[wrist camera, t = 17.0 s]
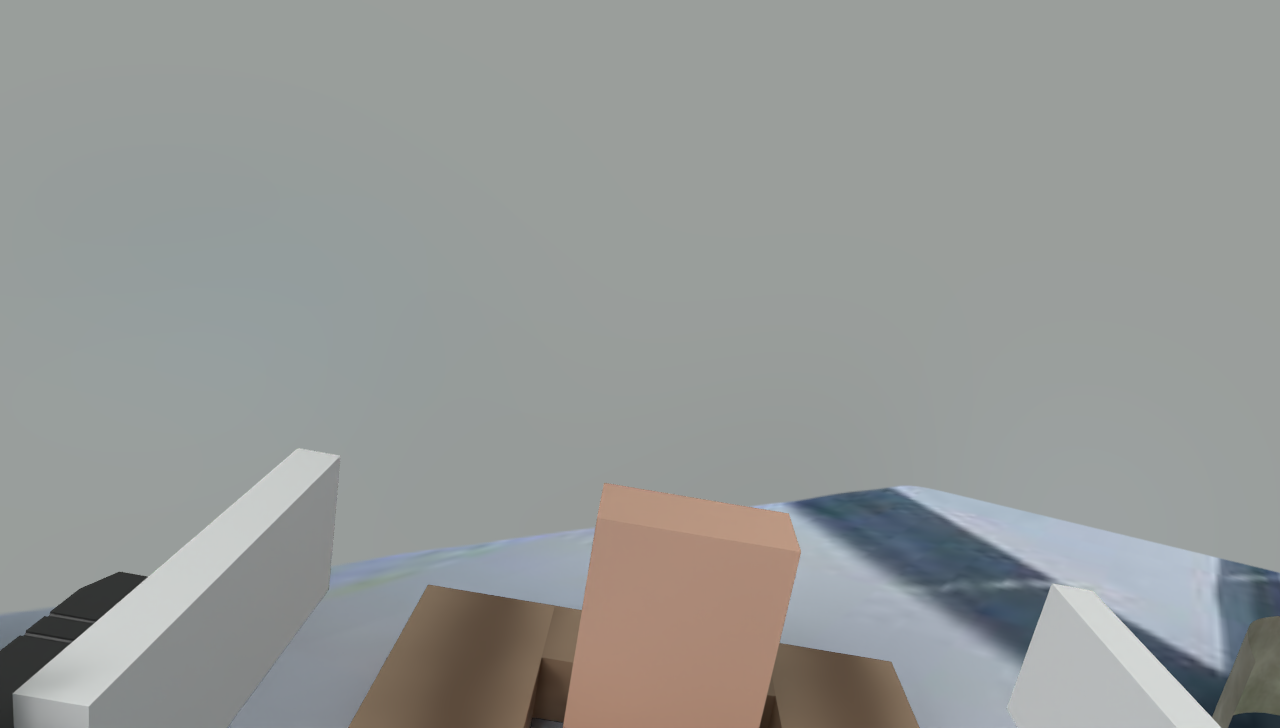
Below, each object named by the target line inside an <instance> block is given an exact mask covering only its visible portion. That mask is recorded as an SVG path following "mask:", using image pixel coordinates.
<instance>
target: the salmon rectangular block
mask: <svg viewBox="0 0 1280 728" xmlns="http://www.w3.org/2000/svg"><path fill="white" fill-rule="evenodd" d="M800 554H801V550H800V547H799V544H798V541H797V538H796V535H795V532H794V529H793V525H792V522H791V519H790V516H789V514H788V513H782V512H776V511H770V510H764V509H758V508H752V507H746V506H740V505H734V504H728V503H722V502H716V501H710V500H704V499H698V498H692V497H686V496H680V495H674V494H668V493H662V492H656V491H650V490H644V489H638V488H632V487H626V486H620V485H614V484H608V483H604V487H603V491H602V496H601V501H600V507H599V511H598V516H597V522H596V528H595V534H594V540H593V546H592V552H591V558H590V564H589V570H588V577H587V583H586V589H585V595H584V601H583V607H582V613H581V619H580V625H579V631H578V638H577V644H576V650H575V656H574V662H573V668H572V674H571V680H570V686H569V693H568V699H567V705H566V711H565V717H564V723H563V728H759V726H760V722H761V718H762V714H763V710H764V705H765V701H766V697H767V693H768V689H769V684H770V680H771V676H772V672H773V668H774V663H775V659H776V655H777V651H778V647H779V642H780V638H781V634H782V630H783V626H784V621H785V617H786V613H787V609H788V605H789V600H790V596H791V592H792V588H793V584H794V579H795V575H796V571H797V567H798V563H799V558H800Z"/></svg>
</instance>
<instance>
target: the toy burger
mask: <svg viewBox="0 0 1280 728" xmlns="http://www.w3.org/2000/svg"><path fill="white" fill-rule="evenodd" d="M1249 712H1261V713H1270V714H1275V715H1280V616H1275V617H1267V618H1263V619H1259V620H1256V621H1254V622H1252V623H1251V624H1250V626H1249V628H1248V631H1247V633H1246V635H1245V638H1244V640H1243V643H1242V645H1241V648H1240V650H1239V653H1238V656H1237V658H1236V661H1235V663H1234V666H1233V668H1232V670H1231V673H1230V675H1229V677H1228V680H1227V682H1226V685H1225V687H1224V689H1223V692H1222V694H1221V696H1220V699H1219V701H1218V704H1217V706H1216V709H1215V711H1214V714H1213V716H1212V718H1213V719H1214V720H1215V721H1216V723H1217V724H1218V725H1219V726H1220V727H1221V728H1228V726H1229V724H1230V721H1231V719H1232V716H1233V715H1236V714H1241V713H1249Z"/></svg>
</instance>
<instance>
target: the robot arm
mask: <svg viewBox="0 0 1280 728" xmlns="http://www.w3.org/2000/svg"><path fill="white" fill-rule="evenodd" d="M339 466H340V456H339V455H333V454H328V453H322V452H317V451H311V450H305V449H299V448H298V449H296V450H295V451H294V452H293V453H292V454H291V455H290V456H288V457H287V458H286V459H285V460H284V461H282V462H281V463H280V464H279V465H278V466H277V467H276V468H274V469H273V470H272V471H271V472H270V473H269V474H267V475H266V476H265V477H264V478H263V479H262V480H260V481H259V482H258V483H257V484H256V485H255V486H253V487H252V488H251V489H250V490H249V491H248V492H247V493H245V494H244V495H243V496H242V497H241V498H239V499H238V500H237V501H236V502H235V503H234V504H233V505H232V506H230V507H229V508H228V509H227V510H226V511H224V512H223V513H222V514H221V515H220V516H219V517H217V518H216V519H215V520H214V521H213V522H212V523H210V524H209V525H208V526H207V527H206V528H205V529H204V530H202V531H201V532H200V533H199V534H198V535H196V536H195V537H194V538H193V539H192V540H191V541H189V542H188V543H187V544H186V545H185V546H184V547H182V548H181V549H180V550H179V551H178V552H177V553H176V554H174V555H173V556H172V557H171V558H170V559H169V560H167V561H166V562H165V563H164V564H163V565H162V566H160V567H159V568H158V569H157V570H156V571H155V572H153V573H152V574H151V575H150V576H149V577H146V576H140V575H135V574H129V573H123V572H118V573H115V574H113V575H111V576H108V577H106V578H104V579H102V580H99V581H97V582H95V583H92V584H90V585H87V586H85V587H83V588H81V589H79V590H78V591H76V592H75V593H74V594H73V595H71V596H70V597H69V598H67V599H66V600H65V601H64V602H62V603H61V604H60V605H58V606H57V607H56V608H55V609H53V610H52V611H51V612H50V615H49V616H48V617H46V616H44V617H43V618H42V619H40V620H39V621H38V622H37V623H35V624H34V625H33V626H31V627H30V628H29V629H28V630H26V633H25V635H24V636H19V637H17V638H16V639H15V640H14V641H12V642H11V643H10V644H8V645H7V646H6V647H5V648H3V649H2V650H1V651H0V728H227V727H228V726H229V725H230V723H231V722H232V721H233V719H234V718H235V717H236V715H237V714H238V712H239V711H240V710H241V708H242V707H243V706H244V704H245V703H246V702H247V700H248V699H249V698H250V696H251V695H252V693H253V692H254V691H255V689H256V688H257V687H258V685H259V684H260V683H261V681H262V680H263V678H264V677H265V676H266V674H267V673H268V672H269V670H270V669H271V668H272V666H273V665H274V663H275V662H276V661H277V659H278V658H279V657H280V655H281V654H282V653H283V651H284V650H285V648H286V647H287V646H288V644H289V643H290V642H291V640H292V639H293V638H294V636H295V635H296V634H297V632H298V631H299V629H300V628H301V627H302V625H303V624H304V623H305V621H306V620H307V619H308V617H309V616H310V614H311V613H312V612H313V610H314V609H315V608H316V606H317V605H318V604H319V602H320V601H321V599H322V598H323V597H324V595H325V594H326V593H327V591H328V590H329V582H330V570H331V558H332V546H333V536H334V522H335V513H336V501H337V488H338V478H339ZM1006 709H1007V710H1008V712H1009V714H1010V715H1011V717H1012V719H1013V720H1014V722H1015V724H1016V725H1017V727H1018V728H1221V727H1220V726H1219V725H1218V724H1217V723H1216V721H1215V720H1214V719H1213V718H1212V717H1211V716H1210V715H1209V714H1208V713H1207V712H1206V711H1205V710H1204V709H1203V708H1202V707H1201V706H1200V704H1199V703H1198V702H1197V701H1196V700H1195V699H1194V698H1193V697H1192V696H1191V695H1190V694H1189V693H1188V692H1187V691H1186V690H1185V688H1184V687H1183V686H1182V685H1181V684H1180V683H1179V682H1178V681H1177V680H1176V679H1175V678H1174V677H1173V676H1172V675H1171V674H1170V673H1169V671H1168V670H1167V669H1166V668H1165V667H1164V666H1163V665H1162V664H1161V663H1160V662H1159V661H1158V660H1157V659H1156V658H1155V657H1154V655H1153V654H1152V653H1151V652H1150V651H1149V650H1148V649H1147V648H1146V647H1145V646H1144V645H1143V644H1142V643H1141V642H1140V641H1139V640H1138V638H1137V637H1136V636H1135V635H1134V634H1133V633H1132V632H1131V631H1130V630H1129V629H1128V628H1127V627H1126V626H1125V625H1124V624H1123V622H1122V621H1121V620H1120V619H1119V618H1118V617H1117V616H1116V615H1115V614H1114V613H1113V612H1112V611H1111V610H1110V609H1109V608H1108V607H1107V605H1106V604H1105V603H1104V602H1103V601H1102V600H1101V599H1100V598H1099V597H1098V596H1097V595H1096V594H1095V593H1094V592H1093V591H1091V590H1086V589H1080V588H1074V587H1069V586H1063V585H1058V584H1052V585H1051V588H1050V591H1049V593H1048V596H1047V599H1046V602H1045V604H1044V607H1043V610H1042V612H1041V615H1040V618H1039V621H1038V623H1037V626H1036V629H1035V632H1034V634H1033V637H1032V640H1031V643H1030V645H1029V648H1028V651H1027V654H1026V656H1025V659H1024V662H1023V665H1022V667H1021V670H1020V673H1019V676H1018V678H1017V681H1016V684H1015V687H1014V689H1013V692H1012V695H1011V697H1010V700H1009V703H1008V706H1007V708H1006Z"/></svg>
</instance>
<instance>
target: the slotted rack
mask: <svg viewBox="0 0 1280 728" xmlns="http://www.w3.org/2000/svg"><path fill="white" fill-rule="evenodd" d="M581 613H582V610H577V609H571V608H565V607H559V606H553V605H547V604H541V603H535V602H529V601H523V600H517V599H511V598H505V597H499V596H493V595H487V594H481V593H475V592H469V591H463V590H457V589H451V588H445V587H439V586H433V585H428V586H427V588H426V590H425V591H424V593H423V595H422V597H421V598H420V600H419V602H418V604H417V606H416V607H415V609H414V611H413V613H412V615H411V616H410V618H409V620H408V622H407V624H406V625H405V627H404V629H403V631H402V632H401V634H400V636H399V638H398V640H397V641H396V643H395V645H394V647H393V649H392V650H391V652H390V654H389V656H388V658H387V659H386V661H385V663H384V665H383V666H382V668H381V670H380V672H379V674H378V675H377V677H376V679H375V681H374V683H373V684H372V686H371V688H370V690H369V691H368V693H367V695H366V697H365V699H364V700H363V702H362V704H361V706H360V708H359V709H358V711H357V713H356V715H355V717H354V718H353V720H352V722H351V724H350V725H349V727H348V728H530V725H531V721H532V717H534V718H540V719H546V720H552V721H558V722H564V717H565V711H566V705H567V699H568V693H569V686H570V680H571V674H572V668H573V662H574V656H575V650H576V644H577V638H578V631H579V625H580V619H581ZM759 728H919V725H918V723H917V721H916V718H915V716H914V714H913V711H912V709H911V707H910V704H909V702H908V700H907V697H906V695H905V693H904V690H903V688H902V686H901V683H900V681H899V679H898V676H897V674H896V672H895V669H894V667H893V665H892V662H889V661H883V660H877V659H871V658H865V657H859V656H853V655H847V654H841V653H835V652H829V651H823V650H817V649H811V648H805V647H799V646H793V645H787V644H781V643H779V647H778V651H777V655H776V659H775V663H774V668H773V672H772V676H771V680H770V684H769V689H768V693H767V697H766V701H765V705H764V710H763V714H762V718H761V722H760V726H759Z"/></svg>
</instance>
